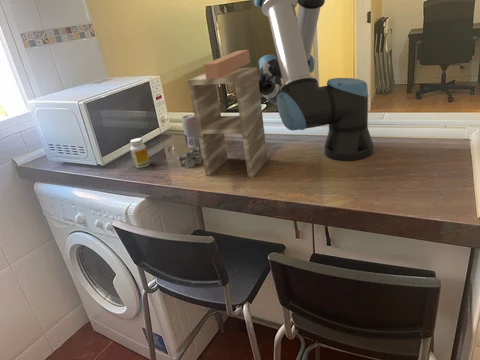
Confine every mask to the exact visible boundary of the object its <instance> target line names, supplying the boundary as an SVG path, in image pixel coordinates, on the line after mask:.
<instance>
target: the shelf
mask: <svg viewBox="0 0 480 360" xmlns="http://www.w3.org/2000/svg"><path fill="white" fill-rule="evenodd" d="M258 75H259V73H258V67H257V66H254V67H253V66H251V67H240V68H238V69H237V70H235V71H233V72H231V73H229V74H227V75H225V76H223V77H221V78H218V79H206V74H205V72H204V73H201V74H199V75H197V76H195V77H193V78H190V79H188V80H187V83H188V84H187V85H188V88H189V94H190V99H191V103H192V109H193V115H195V121H196V126H197V131H198V137H199V142H200V146H199V148H200V149H201V152H202V158H203V161H202V162H203V167H204V172H205V176H206V177H207V176H209V177H211V175H213V174H214V173H215V172H216V171H217V170H218V169H220V167H221V166H222V165H223V164H224V163H225V162H226V161H227V160H228V151H227V145H226V137H225V135H230V134H231V135H232V134H233V135H236V134H237V135H239V134H241V136H242V143H243V149H244V156H245V164H246V165H245V167H246V173H247V178H251V179H253V178H254V177H255V175H256V174H257V173H258V172H259V171H260V169H261V168H262V167H263V166H264V165H265V163H266V162H267V161H268V152H267V145H266V144H267V143H266V135H265V127H264V119H263V109H262V99H261V94H260V90H259V81H258ZM224 84H234V86H235V94H236V99H237V108H238V114H239V115H222V114H221V107H220V100H219V95H218V89H217V85H224Z"/></svg>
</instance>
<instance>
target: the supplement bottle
mask: <svg viewBox="0 0 480 360" xmlns="http://www.w3.org/2000/svg"><path fill="white" fill-rule="evenodd" d="M130 145H131V147H130V148H129V149H130V154H131V157H132V160H133V161H132V162H133V164H134V167H135V168H137V169H142V168H146V167H149V165H150V163H151V162H150V158H149V154H148V151H147V146H146V144H144V143H143V139H142V138H141V137H137V138H134V139H133V138H132V139H130Z"/></svg>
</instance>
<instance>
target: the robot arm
mask: <svg viewBox="0 0 480 360" xmlns="http://www.w3.org/2000/svg"><path fill="white" fill-rule="evenodd" d="M325 2H326V0H253V3H254V4H253V5H254V6H255V7H256V8H261V13H262V14H263V15H264V16H266V17H268V21H269V25H270V31H271V35H272V40H273V45H274V48H275V52H276V55H274V54H265V55H264V56H262V57H260V58H259V60H258V66H259V73H260V74H258V81H259V90H260V96H261V95H262V96H263V98H265V99H266V100H267V101H268V102H269V103H271V104H273V105H275V106H276V105H277V111H278V115H279V117H280V120H281V122H282V124H283V126H284V127H285V128H286V129H287V130H289V131H292V132H293V131H300V130H301V131H304V130H306V129H311V128H317V127H322V126H328V133H327V137H326V140H325V143H324V149H323V150H324V152H323V153H324V155H325V156H326V157H328V158H330V159H332V160H336V161H345V162H346V161H357V160H362V159H365V158H368V157H369V156H371V155H372V154H374V142H373V139H372V136H371V134H370V131H369V125H368V121H369V119H368V116H369V115H368V114H369V100H368V99H369V91H368V84H367V82H366V81H364V80H363V79H359V78H352V77H351V78H350V77H334V78H328V80H327V82H326V85H324V86H319V82H318V79H317V78H316V77H314V76H312V75H311V74H312V73H313V72H314V71H315V58H314V57H313V55H312V54H311V53H312V49H313V45H314V41H315V37H316V36H315V35H316V31H317V30H316V29H317V24H318V20H319V16H320V11H321V8H322V7H323V6H324V4H325ZM297 6H298V7H297ZM296 7H297V11H296ZM282 83H283V84H282Z"/></svg>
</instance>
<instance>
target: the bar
mask: <svg viewBox="0 0 480 360" xmlns="http://www.w3.org/2000/svg"><path fill="white" fill-rule="evenodd" d="M248 64H251V58H250V50H249V49H243V50H240V49H239V50H236V51H233V52H231V53H229V54H227V55H224V56H221V57H219V58H216V59H214V60H212V61H209V62H207V63H205V64H203V69H204V73H205V74H206V79H218V78H221V77H223V76H225V75H227V74H229V73H231V72H233V71H235V70H237V69H238V68H243V67H244V66H246V65H248Z"/></svg>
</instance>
